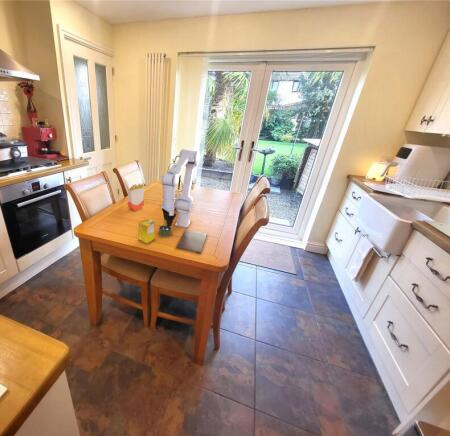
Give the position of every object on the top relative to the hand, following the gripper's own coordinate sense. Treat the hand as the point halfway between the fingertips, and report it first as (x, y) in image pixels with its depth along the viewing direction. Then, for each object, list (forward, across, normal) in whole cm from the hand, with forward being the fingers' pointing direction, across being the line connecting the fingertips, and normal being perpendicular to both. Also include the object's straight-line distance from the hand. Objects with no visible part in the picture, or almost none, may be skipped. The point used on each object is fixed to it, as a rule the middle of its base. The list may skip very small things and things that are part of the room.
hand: (167, 222), depth 121 cm
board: (+10, +4, +13) cm, 17 cm away
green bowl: (+10, -6, 0) cm, 12 cm away
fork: (+10, -6, 0) cm, 11 cm away
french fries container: (+10, -44, -13) cm, 47 cm away
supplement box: (+10, -1, -11) cm, 15 cm away
